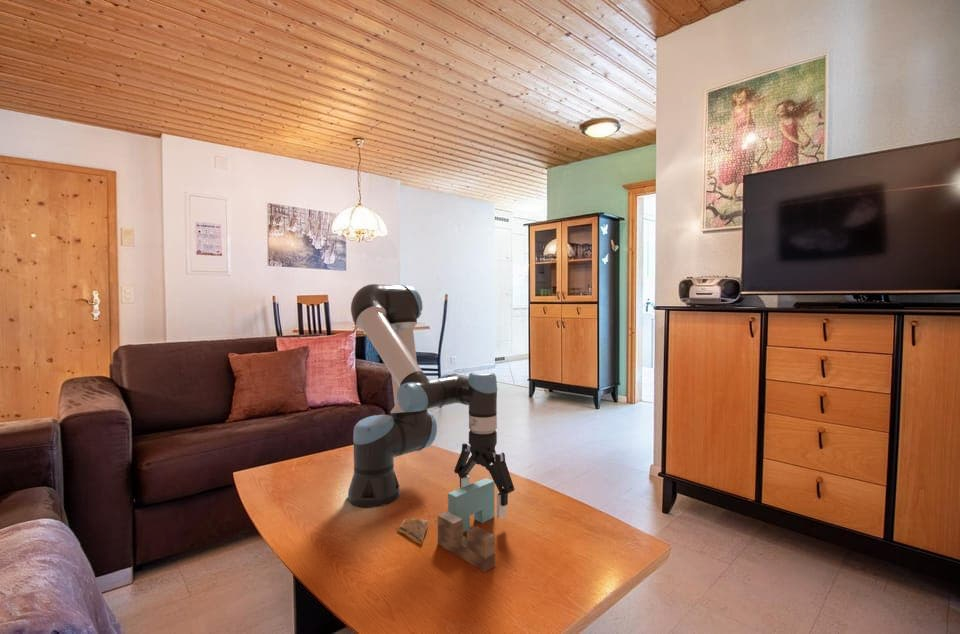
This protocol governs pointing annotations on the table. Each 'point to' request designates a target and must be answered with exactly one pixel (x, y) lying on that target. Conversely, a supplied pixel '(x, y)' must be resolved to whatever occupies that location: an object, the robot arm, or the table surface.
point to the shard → (414, 529)
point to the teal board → (473, 502)
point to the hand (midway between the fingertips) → (482, 508)
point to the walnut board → (466, 541)
